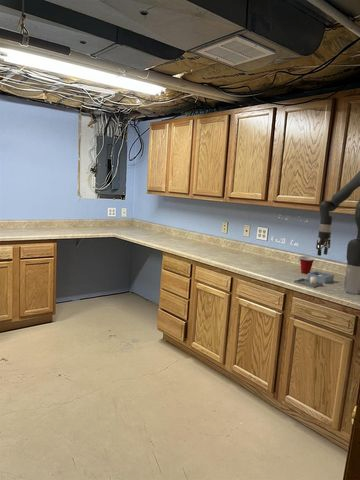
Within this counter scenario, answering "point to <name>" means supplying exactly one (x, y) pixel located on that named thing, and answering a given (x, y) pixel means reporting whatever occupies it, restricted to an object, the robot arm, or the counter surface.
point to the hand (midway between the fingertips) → (322, 255)
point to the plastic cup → (306, 264)
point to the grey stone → (313, 280)
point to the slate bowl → (321, 279)
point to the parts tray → (307, 282)
